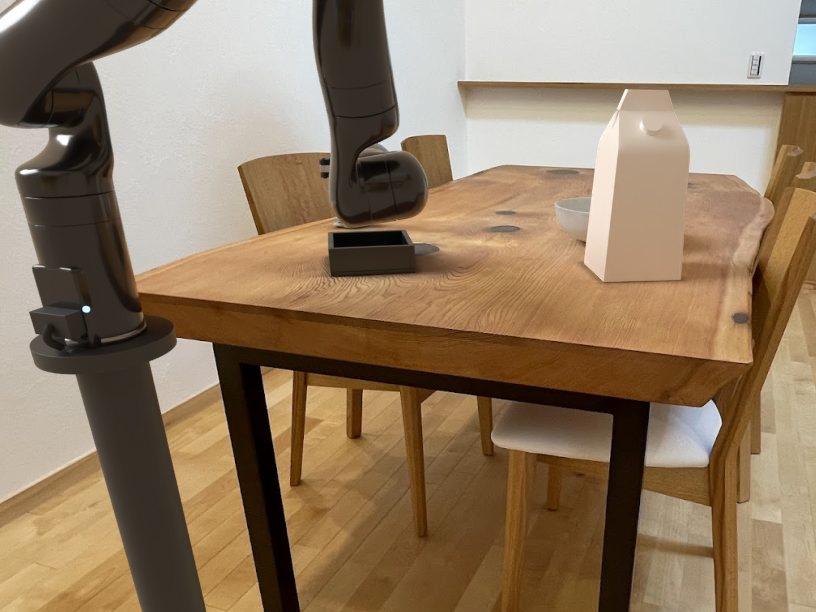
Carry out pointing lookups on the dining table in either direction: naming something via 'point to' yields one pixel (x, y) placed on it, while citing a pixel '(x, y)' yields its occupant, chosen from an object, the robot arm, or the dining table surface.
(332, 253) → the dark grey open box
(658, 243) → the milk
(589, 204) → the serving bowl
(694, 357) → the dining table surface
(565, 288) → the dining table surface
